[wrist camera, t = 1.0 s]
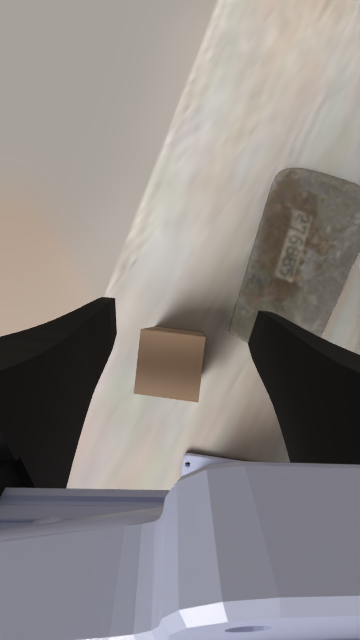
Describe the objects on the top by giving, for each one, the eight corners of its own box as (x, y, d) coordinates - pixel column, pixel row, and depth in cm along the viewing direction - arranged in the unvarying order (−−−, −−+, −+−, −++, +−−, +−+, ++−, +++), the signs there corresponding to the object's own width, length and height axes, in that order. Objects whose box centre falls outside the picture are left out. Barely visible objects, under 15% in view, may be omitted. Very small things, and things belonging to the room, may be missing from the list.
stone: (281, 158, 21) (394, 182, 19) (273, 180, 24) (370, 203, 22) (216, 336, 20) (328, 377, 18) (215, 336, 23) (312, 372, 21)
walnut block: (197, 379, 22) (198, 402, 16) (149, 373, 23) (133, 393, 17) (202, 331, 22) (205, 337, 16) (154, 326, 23) (140, 329, 17)
